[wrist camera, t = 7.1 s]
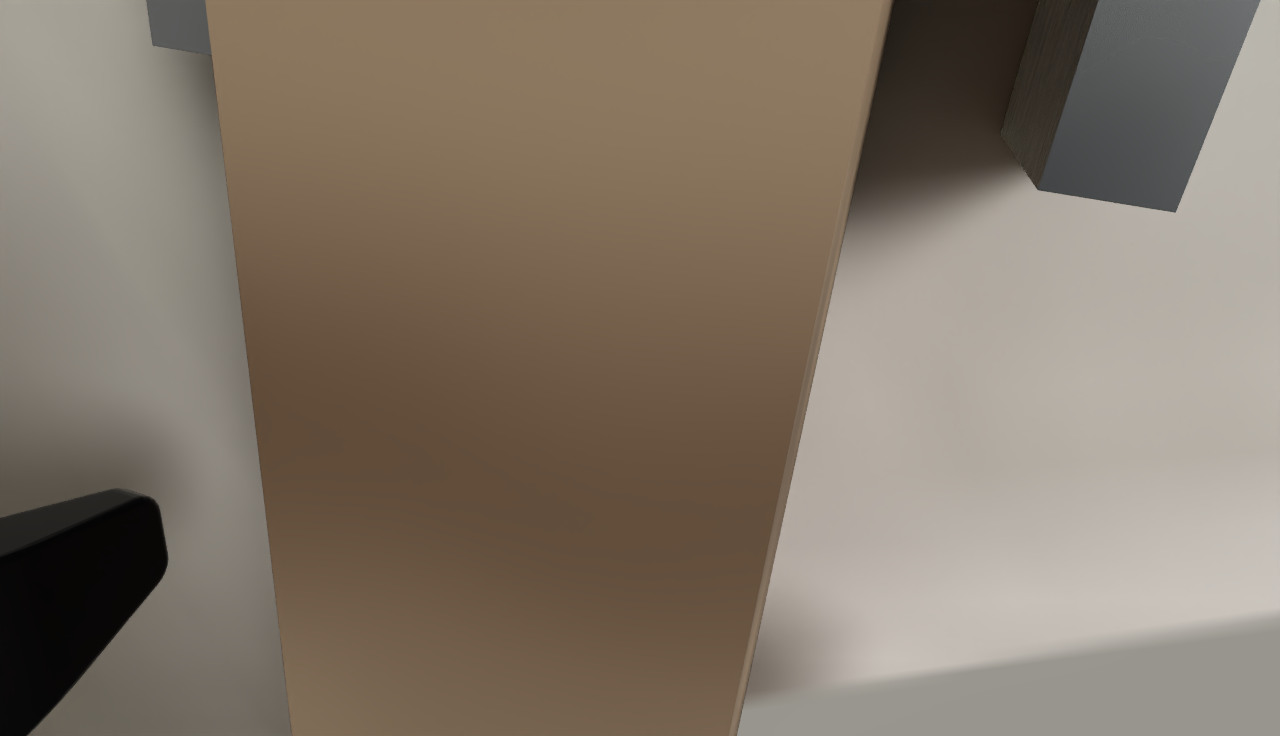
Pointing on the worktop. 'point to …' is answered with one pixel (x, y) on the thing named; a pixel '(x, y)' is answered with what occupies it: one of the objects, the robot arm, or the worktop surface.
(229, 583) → the worktop surface
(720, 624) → the block
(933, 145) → the worktop surface
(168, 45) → the bracket
